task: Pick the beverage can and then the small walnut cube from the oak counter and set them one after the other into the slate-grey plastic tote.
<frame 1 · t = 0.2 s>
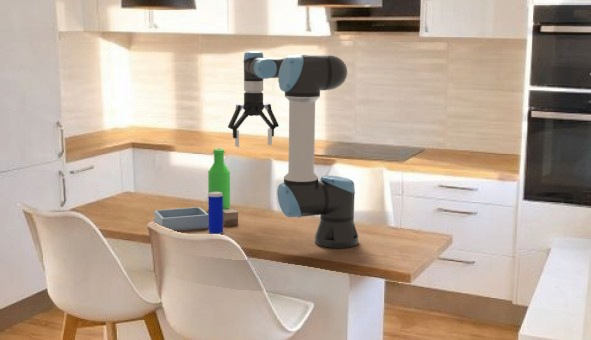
hand: (253, 145, 295), 28 cm above the counter, fingers open, 13 cm apart
tote: (181, 225, 281), on the counter
beverage can: (215, 233, 271), on the counter
bottle: (219, 209, 308), on the counter
walnut cube: (229, 223, 285), on the counter
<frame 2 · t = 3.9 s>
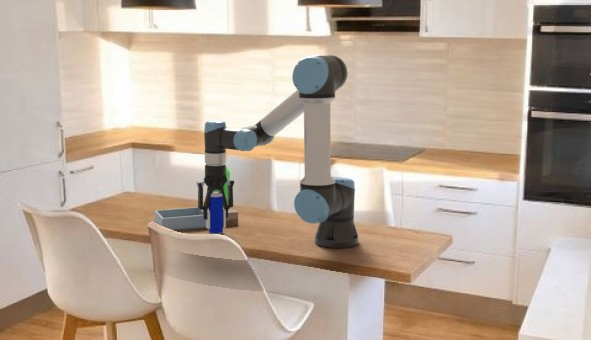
hand: (215, 227, 271), 2 cm above the counter, fingers closed on beverage can, 5 cm apart
beverage can: (215, 233, 271), on the counter, touching gripper
everything else where it was.
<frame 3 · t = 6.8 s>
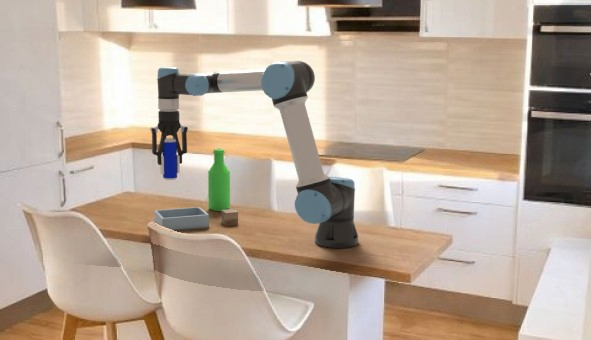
hand: (170, 172, 276), 20 cm above the counter, fingers closed on beverage can, 5 cm apart
beverage can: (170, 179, 276), point 18 cm above the counter, touching gripper
everything else where it was.
when the fingers open (5 cm above the counter, at t = 9.8 s): beverage can drops 2 cm, resting on tote.
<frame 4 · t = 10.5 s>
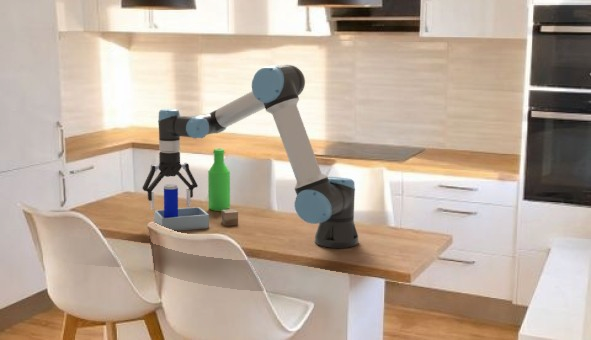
hand: (170, 207, 278), 7 cm above the counter, fingers open, 13 cm apart
beverage can: (171, 225, 280), resting on tote
everything else where it was.
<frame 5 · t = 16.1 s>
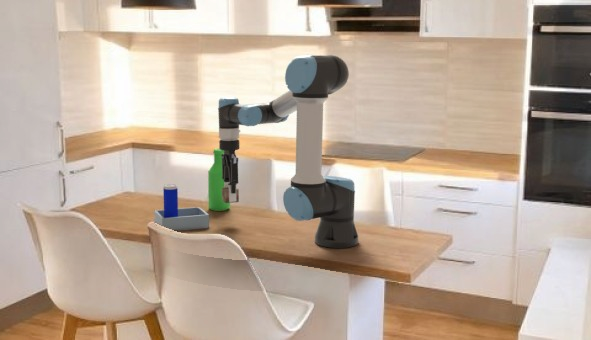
hand: (230, 200, 283), 9 cm above the counter, fingers closed on walnut cube, 5 cm apart
walnut cube: (230, 201, 283), point 9 cm above the counter, touching gripper
everything else where it was.
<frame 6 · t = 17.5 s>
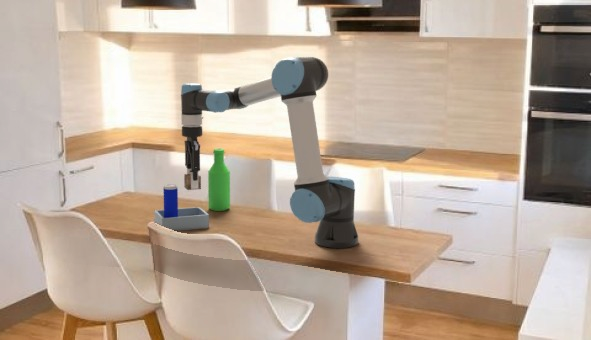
hand: (192, 187, 280), 14 cm above the counter, fingers closed on walnut cube, 5 cm apart
walnut cube: (192, 188, 280), point 14 cm above the counter, touching gripper
everything else where it was.
when the fingers open (5 cm above the counter, at t = 19.4 s): walnut cube drops 4 cm, resting on tote.
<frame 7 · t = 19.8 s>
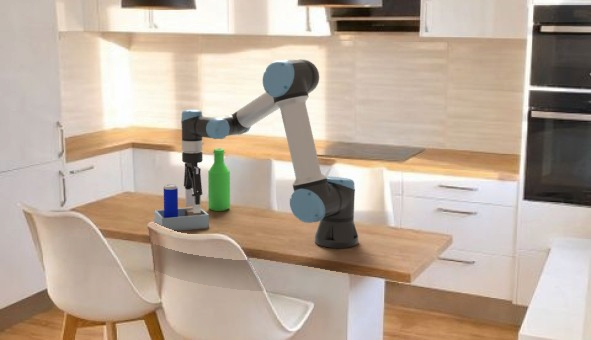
hand: (193, 209, 282), 6 cm above the counter, fingers open, 10 cm apart
walnut cube: (193, 222, 283), point 1 cm above the counter, touching tote
everything else where it was.
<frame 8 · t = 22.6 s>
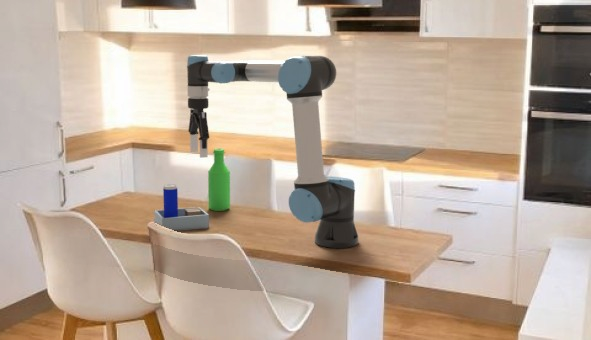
hand: (198, 154, 279), 27 cm above the counter, fingers open, 13 cm apart
nothing on the counter moved.
at the end: beverage can inside the target area on the tote (3.9 cm from its centre), point 0.4 cm above the tote's base; walnut cube inside the target area on the tote (4.4 cm from its centre), point 0.6 cm above the tote's base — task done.
